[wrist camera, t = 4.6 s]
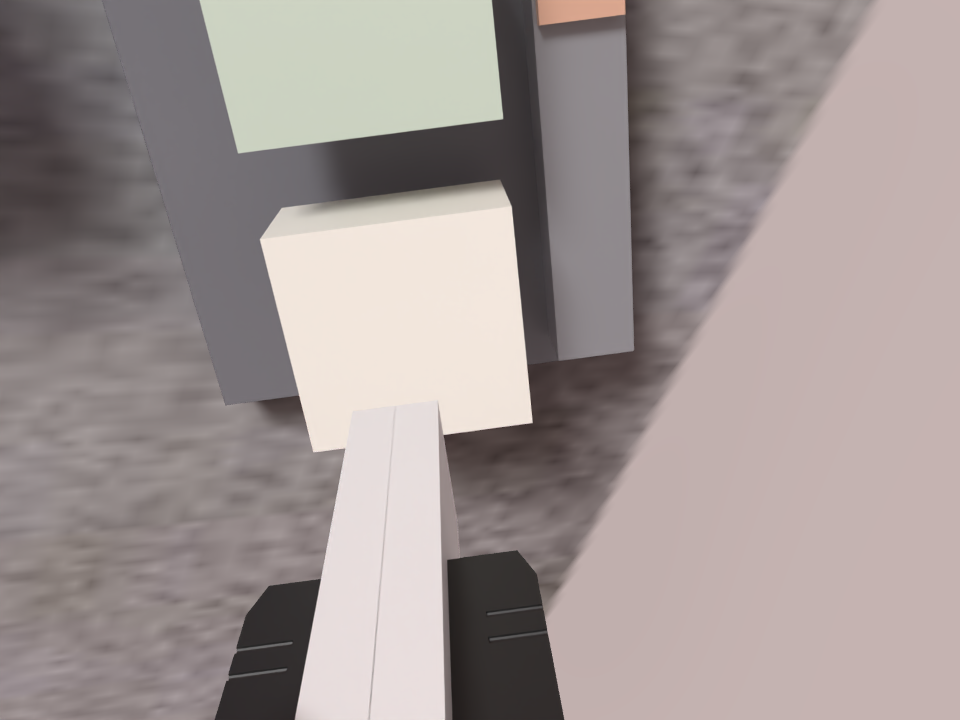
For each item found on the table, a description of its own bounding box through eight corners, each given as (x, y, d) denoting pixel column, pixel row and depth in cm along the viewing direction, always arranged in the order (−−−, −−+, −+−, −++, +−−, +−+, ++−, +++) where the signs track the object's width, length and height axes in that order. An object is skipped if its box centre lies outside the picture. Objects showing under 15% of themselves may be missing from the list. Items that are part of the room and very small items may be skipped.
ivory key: (326, 399, 23) (313, 452, 20) (281, 207, 20) (259, 239, 17) (519, 373, 23) (532, 423, 20) (499, 179, 20) (511, 206, 18)
